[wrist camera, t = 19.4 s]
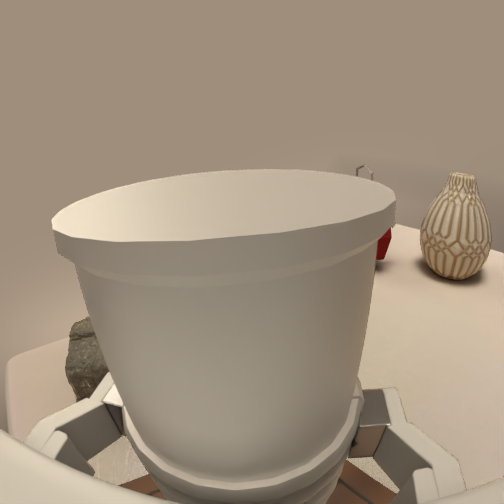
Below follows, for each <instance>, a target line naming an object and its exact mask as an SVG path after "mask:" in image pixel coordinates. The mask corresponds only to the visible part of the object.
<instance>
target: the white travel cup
mask: <svg viewBox="0 0 504 504" xmlns="http://www.w3.org/2000/svg"><path fill="white" fill-rule="evenodd" d="M395 206H396V198H395V195H394V192H393V190H391V189H389V188H388V187H386V186H384V185H383V184H381V183H378V182H374V181H371V180H368V179H364V178H361V177H355V176H350V175H345V174H338V173H330V172H321V171H310V170H291V169H249V170H227V171H215V172H203V173H195V174H187V175H179V176H172V177H166V178H160V179H155V180H149V181H144V182H139V183H135V184H130V185H126V186H122V187H118V188H115V189H111V190H108V191H105V192H101V193H98V194H95V195H92V196H90V197H87V198H84V199H82V200H79V201H77V202H75V203H73V204H71V205H69V206H68V207H66V208H64V209H62V210H60V211H59V212H58V213H57V214H56V215H55V217H54V218H53V219H52V227H53V232H54V236H55V241H56V246H57V250H58V253H59V254H61V255H62V256H64V257H65V258H67V259H68V260H70V261H71V262H73V263H74V264H75V267H76V271H77V275H78V279H79V282H80V286H81V289H82V293H83V297H84V300H85V303H86V306H87V310H88V313H89V316H90V319H91V322H92V325H93V328H94V331H95V334H96V337H97V340H98V343H99V345H100V348H101V351H102V354H103V356H104V359H105V361H106V364H107V366H108V369H109V371H110V374H111V376H112V379H113V381H114V383H115V386H116V388H117V390H118V393H119V395H120V397H121V399H122V402H123V406H122V416H123V423H124V430H125V434H126V436H127V438H128V439H129V441H130V443H131V445H132V447H133V449H134V450H135V452H136V454H137V456H138V457H139V459H140V461H141V462H142V463H143V465H144V466H145V468H146V470H147V471H148V473H149V475H150V476H151V478H152V479H153V481H154V482H155V483H156V485H157V486H158V488H159V489H160V491H161V492H162V494H163V495H164V497H165V498H166V499H167V500H169V501H174V502H178V503H182V504H326V501H327V500H328V498H329V497H330V495H331V494H332V492H333V491H334V489H335V487H336V485H337V482H338V478H339V476H340V475H341V472H342V470H343V466H344V463H345V460H346V459H347V456H348V454H349V450H350V446H351V442H352V440H353V438H354V436H355V433H356V430H357V426H358V421H359V416H360V413H361V412H362V408H363V405H364V397H363V392H362V387H361V382H360V380H359V378H358V376H357V375H358V370H359V366H360V361H361V356H362V351H363V345H364V340H365V334H366V329H367V323H368V316H369V310H370V303H371V296H372V289H373V281H374V272H375V263H376V254H377V243H378V239H380V238H381V237H382V236H383V235H384V234H385V233H386V232H387V230H388V229H389V228H390V227H391V226H392V225H393V224H394V221H395Z"/></svg>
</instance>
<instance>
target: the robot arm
mask: <svg viewBox="0 0 504 504" xmlns="http://www.w3.org/2000/svg"><path fill="white" fill-rule="evenodd" d="M362 392H363V397H364V405H363V408H362V412H361V413H360V416H359V421H358V426H357V430H356V433H355V436H354V438H353V440H352V442H351V446H350V450H349V454H348V458H362V457H373V459H374V460H375V461H376V462H377V464H378V465H379V466H380V467H381V468H382V469H383V471H384V472H385V473H386V474H387V475H388V476H389V478H390V479H391V480H392V481H393V482H394V483H395V485H396V486H397V487H398V488H399V489H400V491H399V492H398V493H397V495H396V496H395V497H394V498H393V499H392V501H391V502H390V503H389V504H504V476H503V477H501V478H499V479H496V480H494V481H491V482H488V483H486V484H483V485H480V486H478V487H475V488H472V489H469V490H467V489H466V485H465V482H464V478H463V475H462V472H461V468H460V465H459V462H458V459H457V458H455V457H454V456H453V455H451V454H450V453H449V452H448V451H446V450H445V449H444V448H443V447H441V446H440V445H439V444H438V443H436V442H435V441H434V440H433V439H431V438H430V437H429V436H428V435H426V434H425V433H424V432H423V431H421V430H420V429H419V428H418V427H416V426H415V425H414V424H413V423H407V419H406V416H405V413H404V409H403V406H402V402H401V399H400V396H399V393H398V389H397V388H396V387H390V388H381V389H380V388H378V389H365V390H362ZM122 406H123V402H122V399H121V397H120V395H119V393H118V390H117V388H116V386H115V383H114V381H113V379H112V376H111V374H110V372H108V373H107V374H106V376H105V377H104V378H103V380H102V381H101V383H100V384H99V386H98V387H97V388H96V390H95V391H94V393H93V394H92V396H91V397H90V398H89V399H88V398H85V399H83V400H81V401H79V402H77V403H75V404H73V405H71V406H69V407H67V408H65V409H62V410H60V411H58V412H56V413H54V414H52V415H50V416H48V417H46V418H43V419H41V420H39V421H38V423H37V424H36V425H35V427H34V428H33V429H32V431H31V432H30V433H29V435H28V436H27V438H26V439H25V440H24V442H21V441H19V440H18V439H16V438H14V437H13V436H11V435H10V434H8V433H6V432H5V431H3V430H1V429H0V504H182V503H178V502H174V501H169V500H165V499H161V498H157V497H154V496H150V495H146V494H143V493H140V492H136V491H133V490H130V489H127V488H124V487H121V486H118V485H115V484H112V483H109V482H106V481H104V480H101V479H98V478H96V477H93V476H94V474H95V471H94V469H93V468H92V467H91V465H90V464H89V463H88V462H87V461H88V460H89V459H91V458H92V457H94V456H95V455H96V454H98V453H99V452H101V451H102V450H103V449H105V448H106V447H108V446H109V445H110V444H112V443H113V442H115V441H116V440H117V439H119V438H120V437H121V436H122V435H124V436H126V434H125V430H124V423H123V416H122Z"/></svg>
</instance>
